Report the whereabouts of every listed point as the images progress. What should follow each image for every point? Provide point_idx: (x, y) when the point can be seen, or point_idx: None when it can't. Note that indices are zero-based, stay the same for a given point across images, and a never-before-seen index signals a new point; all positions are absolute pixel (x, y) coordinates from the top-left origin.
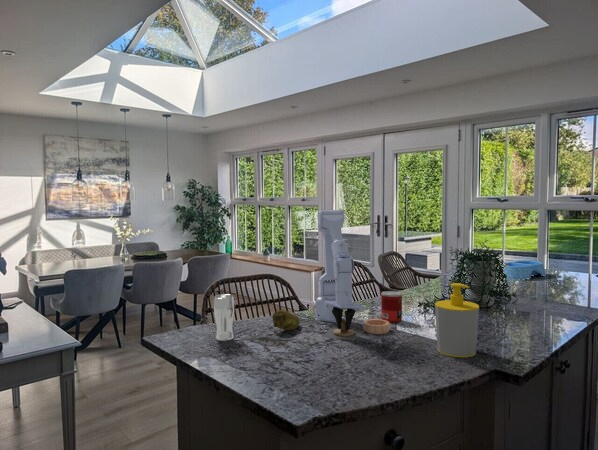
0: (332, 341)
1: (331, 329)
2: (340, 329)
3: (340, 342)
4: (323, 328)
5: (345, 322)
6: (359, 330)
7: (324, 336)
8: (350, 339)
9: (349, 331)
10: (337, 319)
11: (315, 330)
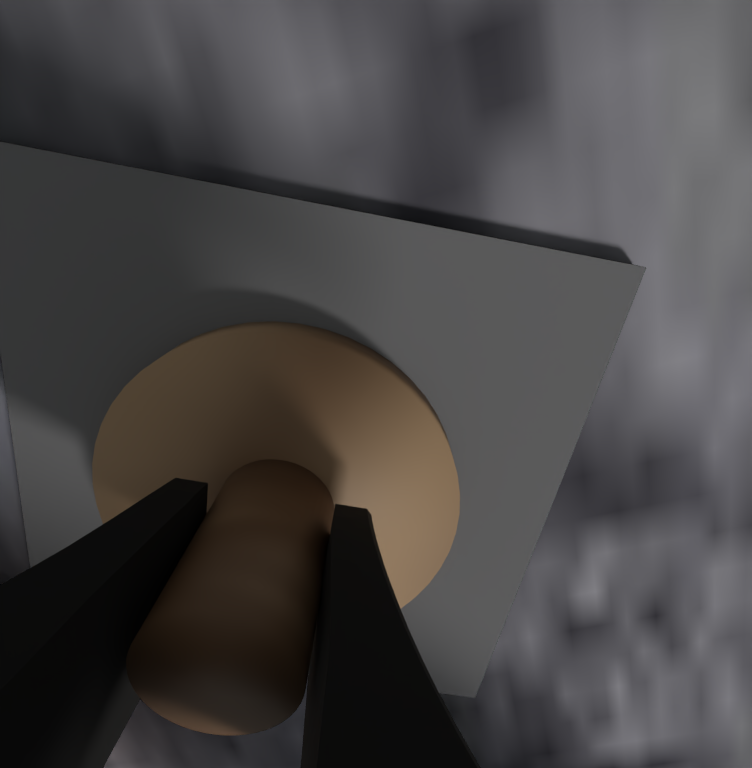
0: (388, 44)
1: (511, 605)
2: None
3: (214, 24)
4: (628, 646)
5: (154, 619)
6: None
7: (587, 257)
8: (64, 201)
9: None
10: (365, 675)
11: (745, 555)
